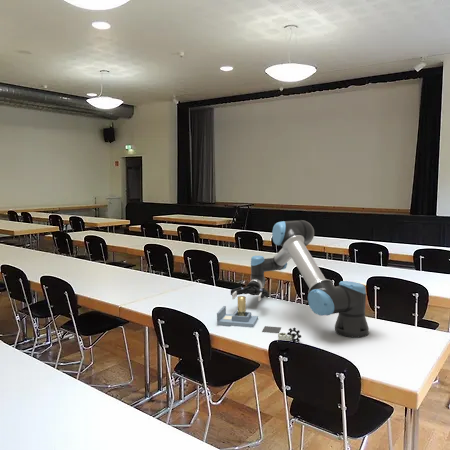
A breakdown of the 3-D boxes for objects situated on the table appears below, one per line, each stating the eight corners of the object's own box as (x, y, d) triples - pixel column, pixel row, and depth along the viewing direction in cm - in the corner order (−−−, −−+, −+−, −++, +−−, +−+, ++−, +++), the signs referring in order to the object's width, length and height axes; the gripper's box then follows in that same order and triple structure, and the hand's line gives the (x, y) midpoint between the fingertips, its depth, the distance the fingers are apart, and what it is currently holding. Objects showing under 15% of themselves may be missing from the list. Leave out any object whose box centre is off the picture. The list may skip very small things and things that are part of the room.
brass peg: (246, 317, 216) (246, 296, 214) (244, 320, 212) (244, 298, 211) (238, 317, 217) (238, 295, 215) (236, 319, 213) (236, 297, 212)
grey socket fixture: (258, 320, 218) (258, 308, 217) (253, 328, 207) (253, 316, 206) (223, 317, 223) (223, 306, 222) (217, 325, 211) (216, 313, 211)
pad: (281, 328, 206) (281, 327, 206) (278, 334, 198) (278, 333, 198) (264, 326, 208) (264, 326, 208) (261, 332, 201) (261, 331, 200)
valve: (286, 352, 178) (301, 343, 187) (286, 337, 177) (301, 329, 186) (273, 349, 182) (288, 340, 191) (273, 333, 181) (288, 325, 191)
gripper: (276, 295, 240) (270, 306, 219) (232, 292, 246) (222, 303, 226) (276, 281, 239) (270, 291, 219) (232, 279, 245) (222, 289, 225)
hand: (245, 297), depth 222 cm, fingers open, 13 cm apart
